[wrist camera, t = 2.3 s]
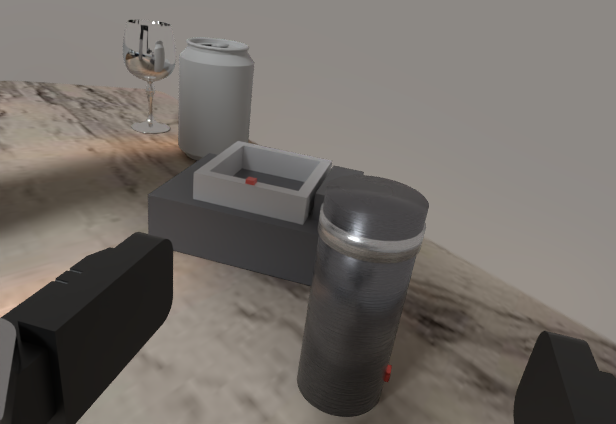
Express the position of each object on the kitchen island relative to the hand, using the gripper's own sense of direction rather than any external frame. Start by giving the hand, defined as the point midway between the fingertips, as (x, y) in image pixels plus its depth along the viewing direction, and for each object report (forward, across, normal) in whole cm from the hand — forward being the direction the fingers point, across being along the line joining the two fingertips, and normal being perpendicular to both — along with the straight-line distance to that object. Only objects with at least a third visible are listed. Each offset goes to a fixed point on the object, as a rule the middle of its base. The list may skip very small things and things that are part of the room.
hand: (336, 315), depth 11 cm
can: (+40, +20, +12) cm, 46 cm away
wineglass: (+44, +30, +12) cm, 54 cm away
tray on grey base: (+24, +9, +12) cm, 29 cm away
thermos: (+12, 0, +13) cm, 17 cm away
